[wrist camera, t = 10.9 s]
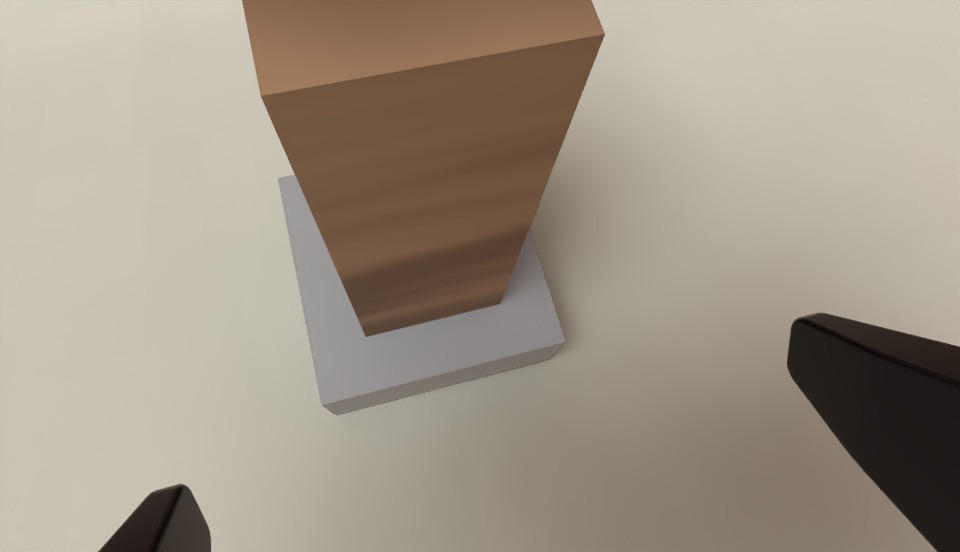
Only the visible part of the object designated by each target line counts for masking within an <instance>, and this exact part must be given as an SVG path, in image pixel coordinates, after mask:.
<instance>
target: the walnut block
mask: <svg viewBox="0 0 960 552" xmlns="http://www.w3.org/2000/svg"><path fill="white" fill-rule="evenodd" d="M242 2H243V7H244V12H245V17H246V22H247V28H248V33H249V38H250V43H251V48H252V53H253V58H254V64H255V69H256V74H257V79H258V84H259V89H260V94H261V98H262V100H263V102H264V104H265V107H266V109H267V111H268V114H269V116H270V118H271V121H272V123H273V125H274V127H275V130H276V132H277V134H278V137H279V139H280V141H281V144H282V146H283V148H284V150H285V153H286V155H287V157H288V160H289V162H290V164H291V167H292V169H293V171H294V173H295V176H296V178H297V180H298V183H299V185H300V187H301V190H302V192H303V194H304V196H305V199H306V201H307V203H308V206H309V208H310V210H311V213H312V215H313V217H314V219H315V222H316V224H317V226H318V229H319V231H320V233H321V236H322V238H323V240H324V242H325V245H326V247H327V249H328V252H329V254H330V256H331V259H332V261H333V263H334V265H335V268H336V270H337V272H338V275H339V277H340V279H341V282H342V284H343V286H344V288H345V291H346V293H347V295H348V298H349V300H350V302H351V304H352V307H353V309H354V311H355V314H356V316H357V318H358V321H359V323H360V325H361V327H362V330H363V332H364V334H365V337H369V336H373V335H377V334H381V333H385V332H389V331H393V330H397V329H401V328H405V327H409V326H413V325H417V324H422V323H426V322H430V321H434V320H438V319H442V318H446V317H450V316H454V315H458V314H462V313H466V312H470V311H474V310H478V309H482V308H486V307H491V306H495V305H499V304H500V303H501V300H502V297H503V295H504V292H505V290H506V287H507V285H508V282H509V279H510V277H511V274H512V272H513V269H514V267H515V264H516V261H517V259H518V256H519V254H520V251H521V249H522V246H523V243H524V241H525V238H526V236H527V233H528V231H529V228H530V225H531V223H532V220H533V218H534V215H535V213H536V210H537V207H538V205H539V202H540V200H541V197H542V195H543V192H544V189H545V187H546V184H547V182H548V179H549V177H550V174H551V171H552V169H553V166H554V164H555V161H556V159H557V156H558V153H559V151H560V148H561V146H562V143H563V141H564V138H565V135H566V133H567V130H568V128H569V125H570V123H571V120H572V117H573V115H574V112H575V110H576V107H577V105H578V102H579V99H580V97H581V94H582V92H583V89H584V87H585V84H586V81H587V79H588V76H589V74H590V71H591V69H592V66H593V63H594V61H595V58H596V56H597V53H598V51H599V48H600V45H601V43H602V40H603V38H604V35H605V33H604V31H603V28H602V26H601V23H600V21H599V18H598V16H597V13H596V11H595V8H594V6H593V3H592V1H591V0H242Z"/></svg>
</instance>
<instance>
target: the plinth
mask: <svg viewBox="0 0 960 552" xmlns="http://www.w3.org/2000/svg"><path fill="white" fill-rule="evenodd" d="M278 181H279V187H280V192H281V197H282V202H283V207H284V212H285V218H286V223H287V228H288V233H289V238H290V243H291V249H292V254H293V259H294V264H295V269H296V274H297V280H298V285H299V290H300V295H301V300H302V305H303V310H304V316H305V321H306V326H307V331H308V336H309V341H310V347H311V352H312V357H313V362H314V367H315V372H316V378H317V383H318V388H319V393H320V398H321V403H322V406H324V407H325V408H326V409H328V410H329V411H331V412H332V413H333V414H335V415H339V414H343V413H347V412H351V411H354V410H358V409H362V408H366V407H370V406H373V405H377V404H381V403H385V402H389V401H392V400H396V399H400V398H404V397H408V396H411V395H415V394H419V393H423V392H427V391H430V390H434V389H438V388H442V387H446V386H449V385H453V384H457V383H461V382H465V381H468V380H472V379H476V378H480V377H484V376H487V375H491V374H495V373H499V372H503V371H506V370H510V369H514V368H518V367H522V366H525V365H529V364H533V363H537V362H541V361H544V360H548V359H550V358H551V357H552V356H553V355H554V354H555V353H556V352H557V350H558V349H559V348H560V347H561V346H562V345H563V344H564V343H565V342H566V341H565V338H564V335H563V332H562V328H561V325H560V322H559V319H558V316H557V313H556V310H555V307H554V303H553V300H552V297H551V294H550V291H549V288H548V285H547V282H546V278H545V275H544V272H543V269H542V266H541V263H540V260H539V257H538V253H537V250H536V247H535V244H534V241H533V238H532V235H531V232H530V228H529V231H528V233H527V236H526V238H525V241H524V243H523V246H522V249H521V251H520V254H519V256H518V259H517V261H516V264H515V267H514V269H513V272H512V274H511V277H510V279H509V282H508V285H507V287H506V290H505V292H504V295H503V297H502V300H501V303H500V304H499V305H495V306H491V307H486V308H482V309H478V310H474V311H470V312H466V313H462V314H458V315H454V316H450V317H446V318H442V319H438V320H434V321H430V322H426V323H422V324H417V325H413V326H409V327H405V328H401V329H397V330H393V331H389V332H385V333H381V334H377V335H373V336H369V337H365V334H364V332H363V330H362V327H361V325H360V323H359V321H358V318H357V316H356V314H355V311H354V309H353V307H352V304H351V302H350V300H349V298H348V295H347V293H346V291H345V288H344V286H343V284H342V282H341V279H340V277H339V275H338V272H337V270H336V268H335V265H334V263H333V261H332V259H331V256H330V254H329V252H328V249H327V247H326V245H325V242H324V240H323V238H322V236H321V233H320V231H319V229H318V226H317V224H316V222H315V219H314V217H313V215H312V213H311V210H310V208H309V206H308V203H307V201H306V199H305V196H304V194H303V192H302V190H301V187H300V185H299V183H298V180H297V178H296V176H295V175H291V176H286V177H281V178H278Z"/></svg>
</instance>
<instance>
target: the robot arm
mask: <svg viewBox="0 0 960 552" xmlns="http://www.w3.org/2000/svg"><path fill="white" fill-rule="evenodd" d="M787 366H788V370H789V373H790V375H791V377H792V379H793V380H794V381H795V383H796V384H797V385H798V387H799V388H800V389H801V391H802V392H803V393H804V395H805V396H806V397H807V399H808V400H809V401H810V403H811V404H812V405H813V407H814V408H815V409H816V411H817V412H818V413H819V415H820V416H821V417H822V419H823V420H824V421H825V423H826V424H827V425H828V427H829V428H830V429H831V431H832V432H833V433H834V435H835V436H836V437H837V439H838V440H839V441H840V443H841V444H842V445H843V447H844V448H845V449H846V450H847V452H848V453H849V454H850V455H851V457H852V458H853V459H854V460H855V461H856V462H857V464H858V465H859V466H860V467H861V468H862V469H863V471H864V472H865V473H866V474H867V475H868V476H869V477H870V478H871V479H872V480H873V482H874V483H875V484H876V485H877V486H878V487H879V488H880V489H881V490H882V491H883V493H884V494H885V495H886V496H887V497H888V498H889V499H890V500H891V501H892V502H893V504H894V505H895V506H896V507H897V508H898V509H899V510H900V511H901V512H902V513H903V515H904V516H905V517H906V518H907V519H908V520H909V521H910V522H911V523H912V524H913V525H914V527H915V528H916V529H917V530H918V531H919V532H920V533H921V534H922V535H923V536H924V538H925V539H926V540H927V541H928V542H929V543H930V544H931V545H932V546H933V547H934V549H935V550H936V551H937V552H960V347H959V346H955V345H951V344H947V343H943V342H939V341H935V340H931V339H927V338H923V337H919V336H915V335H911V334H907V333H903V332H898V331H894V330H890V329H886V328H882V327H878V326H874V325H870V324H866V323H862V322H858V321H854V320H850V319H846V318H842V317H838V316H834V315H830V314H826V313H815V314H811V315H807V316H804V317H800V318H798V319H796V320H795V321H794V322H793V324H792V327H791V333H790V341H789V349H788V357H787ZM98 552H211V536H210V531H209V528H208V525H207V523H206V521H205V519H204V516H203V514H202V512H201V510H200V508H199V506H198V504H197V502H196V500H195V498H194V496H193V494H192V492H191V490H190V489H189V488H188V487H187V486H186V485H183V484H178V485H174V486H171V487H167V488H163V489H159V490H156V491H154V492H152V493H150V494H149V495H148V496H147V497H146V498H145V500H144V501H143V502H142V503H141V504H140V505H139V506H138V507H137V509H136V510H135V511H134V512H133V513H132V514H131V515H130V516H129V518H128V519H127V520H126V521H125V522H124V523H123V524H122V525H121V527H120V528H119V529H118V530H117V531H116V532H115V533H114V535H113V536H112V537H111V538H110V539H109V540H108V541H107V542H106V544H105V545H104V546H103V547H102V548H101V549H100V550H99V551H98Z"/></svg>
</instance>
